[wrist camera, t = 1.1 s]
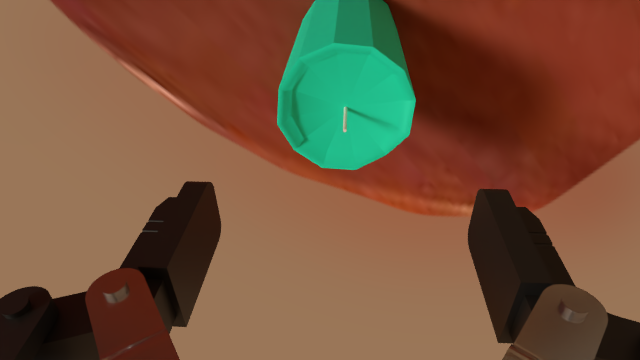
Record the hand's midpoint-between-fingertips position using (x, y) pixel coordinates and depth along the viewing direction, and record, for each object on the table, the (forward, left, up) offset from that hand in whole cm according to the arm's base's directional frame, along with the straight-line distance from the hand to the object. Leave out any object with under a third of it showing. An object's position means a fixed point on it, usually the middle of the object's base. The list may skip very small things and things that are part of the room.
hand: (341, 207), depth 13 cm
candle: (0, 0, -17) cm, 17 cm away
